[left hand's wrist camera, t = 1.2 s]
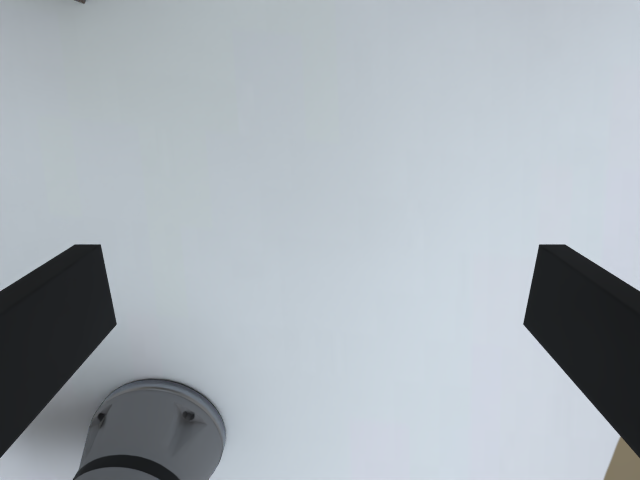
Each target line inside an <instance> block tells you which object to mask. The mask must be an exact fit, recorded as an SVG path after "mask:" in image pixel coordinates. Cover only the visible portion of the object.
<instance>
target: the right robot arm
mask: <svg viewBox="0 0 640 480" xmlns="http://www.w3.org/2000/svg"><path fill="white" fill-rule="evenodd" d="M225 437H226V435H225V427H224V424H223V421H222V418H221V416H220V415H219V413H218V411H217V410H216V409H215V407H214V406H213V405H212V404H211V403H210V402H209V401H208V400H207V399H206V398H205V397H203V396H202V395H201V394H199V393H198V392H196V391H194V390H192V389H190V388H188V387H186V386H184V385H181V384H178V383H174V382H170V381H164V380H142V381H136V382H132V383H129V384H126V385H124V386H122V387H120V388H118V389H116V390H115V391H114V392H112V393H111V394H110V395H109V396H108V397H107V398H106V399H105V400H104V401H103V403H102V404H101V406H100V407H99V409H98V410H97V411H96V413H95V415H94V416H93V419H92V421H91V424H90V427H89V431H88V435H87V439H86V443H85V447H84V451H83V455H82V459H81V463H80V467H79V470H78V472H77V474H76V475H75V477H74V478H73V480H208V479H209V478H210V476H211V475H212V474H213V472H214V471H215V469H216V467H217V466H218V464H219V462H220V459H221V456H222V452H223V449H224V445H225Z"/></svg>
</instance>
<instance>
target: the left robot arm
mask: <svg viewBox="0 0 640 480" xmlns="http://www.w3.org/2000/svg"><path fill="white" fill-rule="evenodd" d="M116 325H117V323H116V318H115V313H114V308H113V303H112V298H111V293H110V289H109V284H108V279H107V274H106V269H105V264H104V259H103V254H102V249H101V245H74V246H72V247H70V248H69V249H67V250H66V251H64V252H62V253H61V254H59V255H58V256H56V257H54V258H53V259H51V260H50V261H48V262H46V263H45V264H43V265H42V266H40V267H38V268H37V269H35V270H34V271H32V272H30V273H29V274H27V275H26V276H24V277H22V278H21V279H19V280H18V281H16V282H14V283H13V284H11V285H10V286H8V287H7V288H5V289H3V290H2V291H0V458H1V457H2V455H3V454H4V453H5V452H6V451H7V450H8V449H9V447H10V446H11V445H12V444H13V443H14V442H15V440H16V439H17V438H18V437H19V436H20V435H21V434H22V432H23V431H24V430H25V429H26V428H27V427H28V426H29V424H30V423H31V422H32V421H33V420H34V419H35V418H36V416H37V415H38V414H39V413H40V412H41V411H42V409H43V408H44V407H45V406H46V405H47V404H48V403H49V401H50V400H51V399H52V398H53V397H54V396H55V395H56V393H57V392H58V391H59V390H60V389H61V388H62V387H63V385H64V384H65V383H66V382H67V381H68V380H69V379H70V377H71V376H72V375H73V374H74V373H75V372H76V370H77V369H78V368H79V367H80V366H81V365H82V364H83V362H84V361H85V360H86V359H87V358H88V357H89V356H90V354H91V353H92V352H93V351H94V350H95V349H96V348H97V346H98V345H99V344H100V343H101V342H102V341H103V339H104V338H105V337H106V336H107V335H108V334H109V333H110V331H111V330H112V329H113V328H114V327H115V326H116ZM523 325H524V326H525V327H526V328H527V329H528V330H529V331H530V333H531V334H532V335H533V336H534V337H535V338H536V339H537V341H538V342H539V343H540V344H541V345H542V346H543V348H544V349H545V350H546V351H547V352H548V353H549V354H550V356H551V357H552V358H553V359H554V360H555V361H556V362H557V364H558V365H559V366H560V367H561V368H562V369H563V370H564V372H565V373H566V374H567V375H568V376H569V377H570V379H571V380H572V381H573V382H574V383H575V384H576V385H577V387H578V388H579V389H580V390H581V391H582V392H583V393H584V395H585V396H586V397H587V398H588V399H589V400H590V401H591V403H592V404H593V405H594V406H595V407H596V408H597V409H598V411H599V412H600V413H601V414H602V415H603V416H604V418H605V419H606V420H607V421H608V422H609V423H610V424H611V426H612V427H613V428H614V429H615V430H616V431H617V432H618V434H619V435H620V436H621V437H622V438H623V439H624V440H625V442H626V443H627V444H628V445H629V446H630V447H631V449H632V450H633V451H634V452H635V453H636V454H637V455H638V457H639V458H640V291H638V290H637V289H635V288H633V287H632V286H630V285H629V284H627V283H626V282H624V281H622V280H621V279H619V278H618V277H616V276H614V275H613V274H611V273H610V272H608V271H606V270H605V269H603V268H602V267H600V266H598V265H597V264H595V263H594V262H592V261H590V260H589V259H587V258H586V257H584V256H582V255H581V254H579V253H578V252H576V251H574V250H573V249H571V248H570V247H568V246H566V245H539V249H538V254H537V259H536V264H535V269H534V274H533V279H532V284H531V289H530V293H529V298H528V303H527V308H526V313H525V318H524V323H523Z"/></svg>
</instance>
